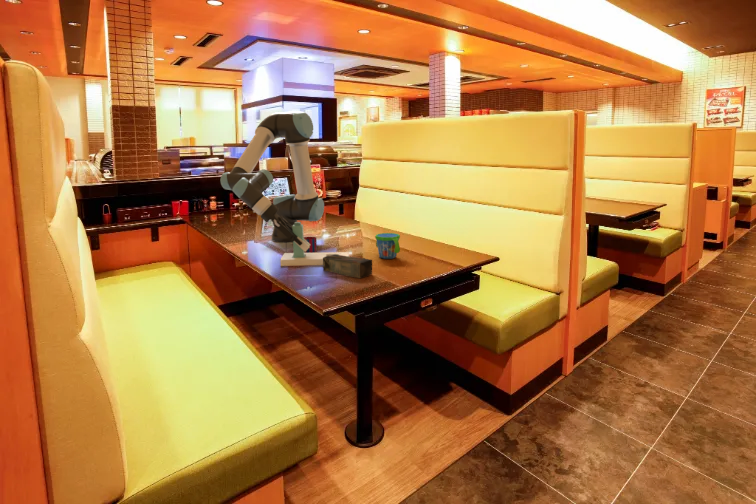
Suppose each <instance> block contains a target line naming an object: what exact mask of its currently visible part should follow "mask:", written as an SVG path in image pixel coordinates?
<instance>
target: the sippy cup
mask: <svg viewBox="0 0 756 504" xmlns="http://www.w3.org/2000/svg"><path fill="white" fill-rule="evenodd" d="M374 238H375V239H376V241H375V245H376V247H377V252H378V256H379V258H380V259H384V260H392V259H395V258H397V254H398V253H399V252H400V250H401V249H400V248H401V247H400V241H399V240H400V238H401V235H400V234H399V233H394V232H383V233H377V234H376V235H375V236H374Z"/></svg>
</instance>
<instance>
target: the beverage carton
mask: <svg viewBox="0 0 756 504" xmlns="http://www.w3.org/2000/svg"><path fill="white" fill-rule="evenodd" d="M322 271H325V272H329V273H330V272H331V273H336V274H338V275H339V276H340V275H341V276H346V277H351V278H355V279H363V278H365V277H369V276H371V275H373V259H368V258H365V257H362V258H361V257H355V256H349V257H348V256H342V255H336V254H334V255H327V256H326V257H324V258H323V265H322Z"/></svg>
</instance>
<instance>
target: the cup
mask: <svg viewBox="0 0 756 504" xmlns="http://www.w3.org/2000/svg"><path fill="white" fill-rule="evenodd" d="M304 239H305V240H306V241H307V242H308V243H309V244H311V245H310V246H309V248H308V250H307V251H306V252H305V251H304V253H317V251H318V247H317V246H318V244H317V237H316V236H304Z"/></svg>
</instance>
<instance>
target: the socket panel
mask: <svg viewBox="0 0 756 504" xmlns="http://www.w3.org/2000/svg"><path fill="white" fill-rule="evenodd" d="M334 254H336V255H342V256H348V257H350V251H341V252H339V251H338V252H337V251H336V252H335V251H333V252H332V251H331V252H323V251H322V252H313V253H304V258H294V252H284V253H283V255H282V256H281V258H280V267H281V268H283V267H286V266H287V267H288V266H289V267H291V266H293V267H294V266H299V267H300V266H323V258H324V257H326V256H327V255H334Z"/></svg>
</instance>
